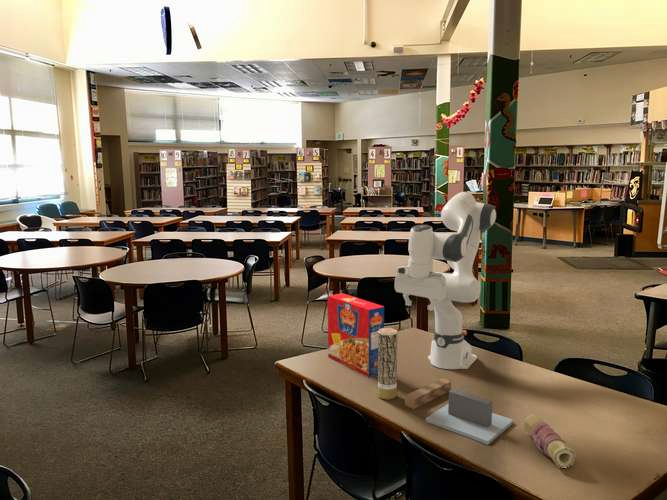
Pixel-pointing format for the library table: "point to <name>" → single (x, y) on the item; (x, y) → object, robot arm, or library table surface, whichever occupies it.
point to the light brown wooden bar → (427, 393)
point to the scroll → (549, 441)
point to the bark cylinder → (387, 363)
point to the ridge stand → (470, 417)
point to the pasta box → (354, 332)
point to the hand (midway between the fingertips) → (419, 307)
